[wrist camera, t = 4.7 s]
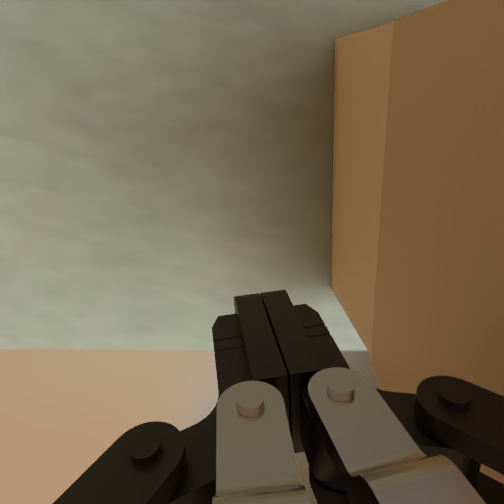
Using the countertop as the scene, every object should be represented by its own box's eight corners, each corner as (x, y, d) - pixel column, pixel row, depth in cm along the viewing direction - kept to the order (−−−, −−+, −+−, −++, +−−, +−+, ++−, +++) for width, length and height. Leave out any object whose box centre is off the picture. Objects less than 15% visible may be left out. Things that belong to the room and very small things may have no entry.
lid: (1075, -207, 3) (985, -196, 3) (544, 730, 9) (518, 731, 9) (410, 19, 15) (393, 20, 15) (381, 363, 21) (370, 364, 21)
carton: (553, 23, 23) (712, -1, 16) (501, 268, 30) (596, 330, 22) (335, 38, 22) (397, 20, 15) (331, 287, 29) (373, 359, 22)
